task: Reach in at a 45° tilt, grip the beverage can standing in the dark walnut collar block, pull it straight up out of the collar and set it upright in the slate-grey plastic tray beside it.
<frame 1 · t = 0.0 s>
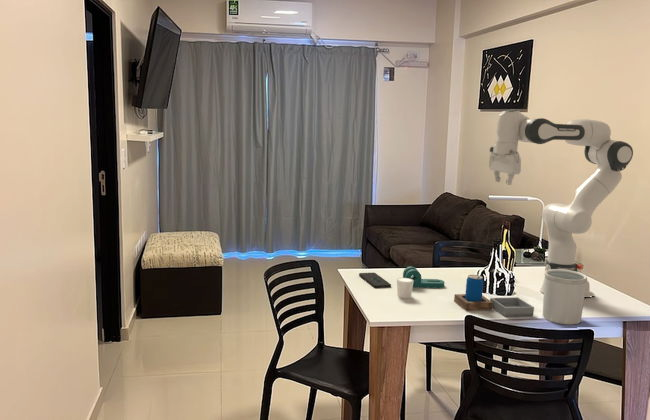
hand: (502, 183, 237), 48 cm above the table, tool pointing down, fingers open, 8 cm apart
beverage can: (472, 306, 230), resting in walnut collar block
walnut collar block: (472, 305, 230), on the table
slate tray: (510, 311, 225), on the table
utensil holder: (560, 319, 219), on the table
smart home device: (374, 282, 258), on the table
bracket: (423, 286, 255), on the table
shot glass: (404, 296, 238), on the table
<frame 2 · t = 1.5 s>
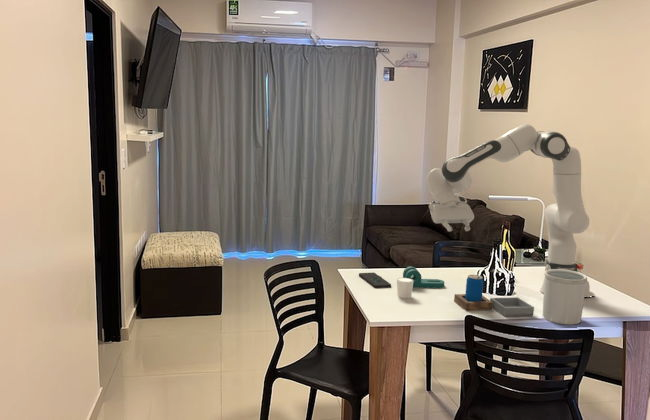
hand: (459, 230, 236), 28 cm above the table, tool tilted 45°, fingers open, 8 cm apart
nothing on the table moved.
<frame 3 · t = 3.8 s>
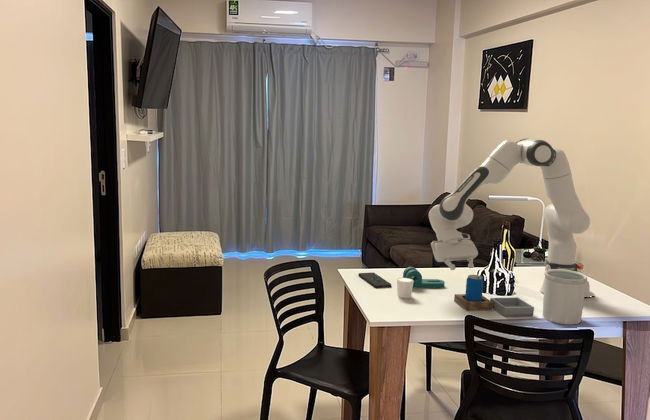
hand: (462, 268, 234), 13 cm above the table, tool tilted 45°, fingers open, 8 cm apart
nothing on the table moved.
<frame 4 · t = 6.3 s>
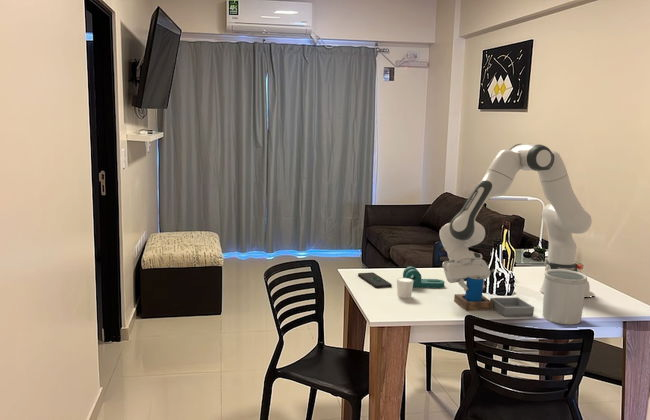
hand: (475, 289, 228), 7 cm above the table, tool tilted 45°, fingers closed on beverage can, 6 cm apart
beverage can: (472, 306, 230), resting in walnut collar block, touching gripper
everything else where it was.
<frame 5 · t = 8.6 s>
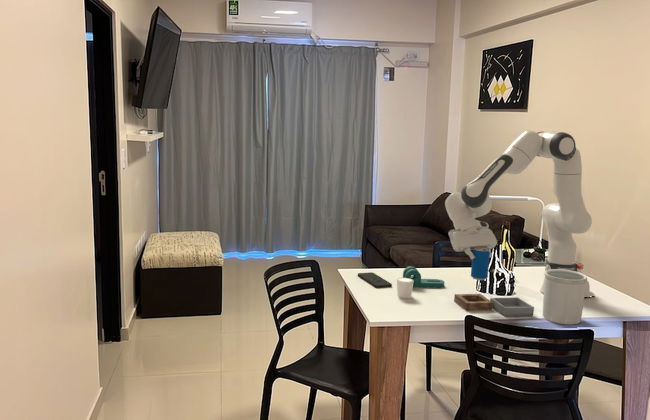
hand: (481, 257, 226), 20 cm above the table, tool tilted 45°, fingers closed on beverage can, 6 cm apart
beverage can: (479, 278, 228), point 11 cm above the table, touching gripper
everything else where it was.
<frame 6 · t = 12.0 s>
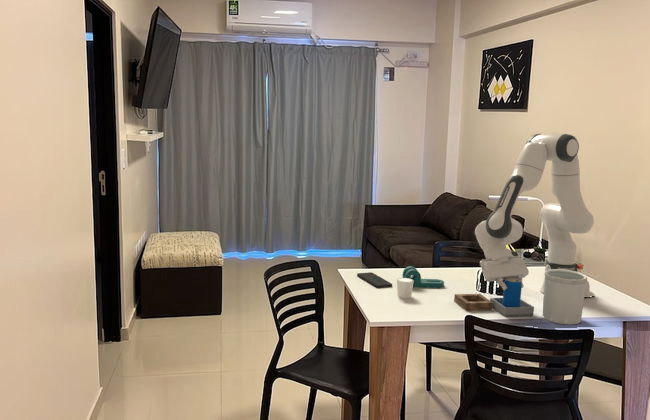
hand: (513, 288, 223), 9 cm above the table, tool tilted 45°, fingers closed on beverage can, 6 cm apart
beverage can: (510, 309, 225), point 1 cm above the table, touching gripper, slate tray
everything else where it was.
when the fingers open (9 cm above the table, at t = 12.1 s): beverage can stays where it is, resting on slate tray.
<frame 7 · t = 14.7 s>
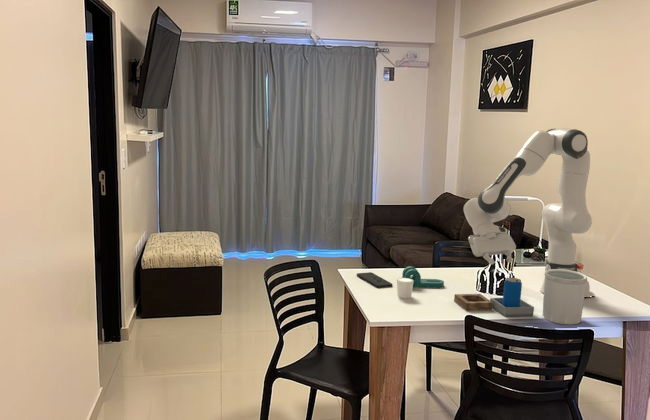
hand: (501, 262, 229), 18 cm above the table, tool tilted 45°, fingers open, 8 cm apart
beverage can: (510, 309, 225), point 1 cm above the table, touching slate tray
everything else where it was.
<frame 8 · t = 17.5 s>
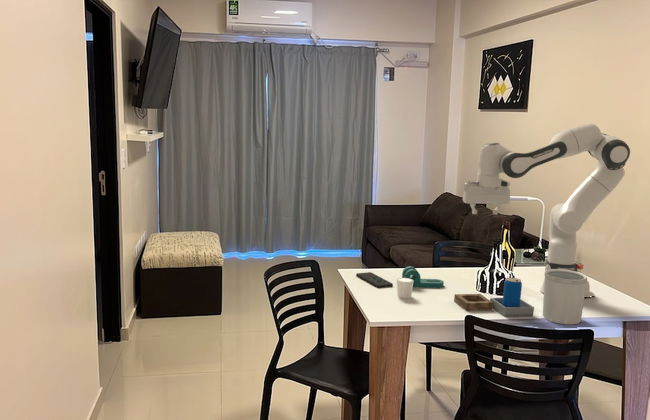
hand: (484, 214, 244), 34 cm above the table, tool pointing down, fingers open, 8 cm apart
nothing on the table moved.
at the end: beverage can 0.3 cm off-centre on the slate tray, point 0.6 cm above the slate tray's base; beverage can tilted 0°; the gripper is holding nothing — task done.
